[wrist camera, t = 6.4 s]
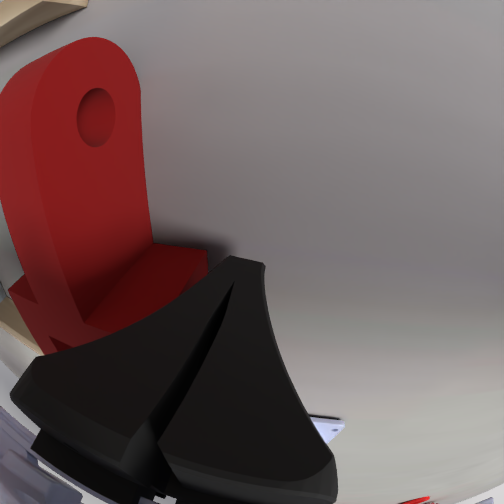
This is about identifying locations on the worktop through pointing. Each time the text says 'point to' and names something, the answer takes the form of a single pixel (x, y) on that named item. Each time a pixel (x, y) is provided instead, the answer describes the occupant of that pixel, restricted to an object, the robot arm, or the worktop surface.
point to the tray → (3, 31)
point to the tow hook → (417, 500)
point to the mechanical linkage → (83, 199)
